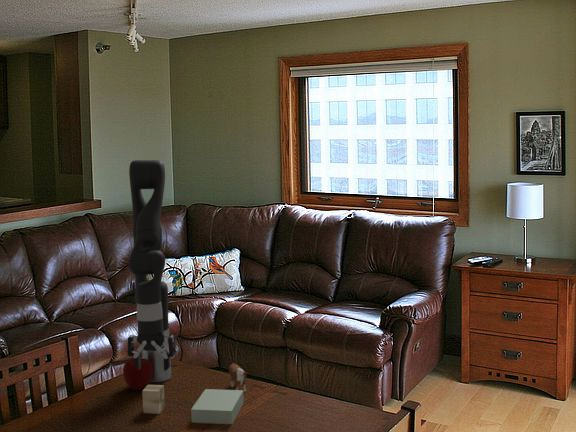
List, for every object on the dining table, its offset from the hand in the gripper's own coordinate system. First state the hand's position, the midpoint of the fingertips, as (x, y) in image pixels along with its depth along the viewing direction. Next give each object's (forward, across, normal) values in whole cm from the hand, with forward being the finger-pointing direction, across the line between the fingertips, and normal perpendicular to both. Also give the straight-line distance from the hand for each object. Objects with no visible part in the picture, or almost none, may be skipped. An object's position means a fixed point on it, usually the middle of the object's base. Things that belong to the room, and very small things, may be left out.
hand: (152, 369), depth 221 cm
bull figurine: (+13, -22, -19) cm, 32 cm away
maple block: (+13, 0, 0) cm, 13 cm away
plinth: (+13, -20, 0) cm, 24 cm away
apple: (+13, +11, -17) cm, 24 cm away
